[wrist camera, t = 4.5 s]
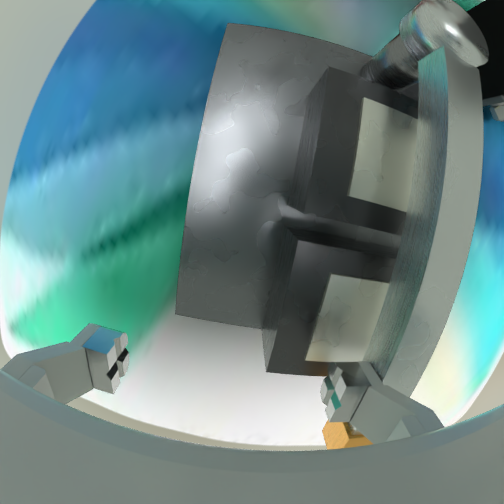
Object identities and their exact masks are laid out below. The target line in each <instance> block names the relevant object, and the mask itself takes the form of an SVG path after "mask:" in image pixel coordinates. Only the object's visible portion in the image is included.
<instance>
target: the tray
mask: <svg viewBox="0 0 504 504" xmlns="http://www.w3.org/2000/svg"><path fill="white" fill-rule="evenodd" d="M418 104H419V75H418V62H417V61H416V60H415V58H414V57H413V56H412V55H411V54H410V52H409V51H408V49H407V48H406V46H405V44H404V42H403V40H402V38H401V35H400V34H398V35H397V36H396V37H395V38H394V39H393V40H392V41H391V42H389V43H388V44H387V45H386V46H385V47H384V48H383V49H382V50H380V51H379V52H378V53H377V54H376V55H375V56H374V57H372V56H369V55H366V54H364V53H361V52H358V51H356V50H353V49H350V48H347V47H344V46H341V45H338V44H334V43H331V42H328V41H324V40H321V39H317V38H313V37H309V36H305V35H301V34H297V33H292V32H287V31H282V30H277V29H271V28H265V27H259V26H251V25H243V24H234V23H228V24H227V27H226V31H225V34H224V38H223V41H222V44H221V48H220V52H219V55H218V59H217V63H216V66H215V70H214V74H213V78H212V82H211V86H210V90H209V94H208V99H207V103H206V107H205V112H204V117H203V121H202V126H201V131H200V136H199V141H198V146H197V151H196V156H195V162H194V167H193V173H192V179H191V185H190V191H189V197H188V204H187V211H186V218H185V225H184V232H183V240H182V249H181V257H180V266H179V276H178V286H177V298H176V310H175V314H177V315H182V316H187V317H192V318H198V319H203V320H209V321H214V322H220V323H226V324H232V325H238V326H245V327H252V328H259V329H262V336H263V346H264V356H265V366H266V372H270V373H281V374H293V375H307V376H328V375H329V374H328V371H327V369H328V367H329V365H330V363H331V362H357V361H362V360H363V357H364V355H365V352H366V350H367V347H368V345H369V342H370V340H371V337H372V334H373V332H374V329H375V326H376V323H377V321H378V318H379V315H380V312H381V309H382V306H383V303H384V300H385V297H386V293H387V290H388V287H389V283H390V280H391V276H392V273H393V269H394V266H395V262H396V258H397V254H398V250H399V246H400V242H401V237H402V233H403V228H404V223H405V218H406V213H407V208H408V202H409V197H410V190H411V184H412V177H413V169H414V161H415V152H416V141H417V127H418Z"/></svg>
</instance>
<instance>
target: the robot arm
mask: <svg viewBox="0 0 504 504" xmlns="http://www.w3.org/2000/svg"><path fill="white" fill-rule="evenodd" d="M127 344H128V338H127V334H126V333H125V332H121V331H117V330H114V329H110V328H107V327H104V326H100V325H97V324H93V323H89V324H88V325H87V326H86V327H85V328H84V329H83V330H82V331H81V332H80V333H79V334H78V335H77V336H76V337H75V338H74V339H73V340H72V341H71V342H70V343H69V342H63V343H59V344H56V345H52V346H48V347H44V348H40V349H37V350H33V351H29V352H25V353H21V354H17V355H16V356H15V357H14V358H12V359H11V360H10V361H9V362H8V363H7V364H6V365H5V366H4V367H3V368H2V369H0V504H504V404H503V405H500V406H498V407H496V408H494V409H492V410H490V411H487V412H485V413H483V414H480V415H478V416H475V417H473V418H470V419H468V420H465V421H462V422H459V423H456V424H454V425H451V426H447V427H444V426H443V424H442V423H441V422H440V420H439V419H438V417H437V416H436V414H435V413H434V412H433V410H431V409H430V408H428V407H426V406H424V405H422V404H420V403H418V402H417V401H415V400H413V399H411V398H409V397H407V396H406V395H404V394H402V393H400V392H398V391H397V390H395V389H393V388H391V387H390V386H388V385H383V383H382V381H381V380H380V378H379V377H378V375H377V374H376V372H375V370H374V369H373V367H372V366H371V364H370V363H369V362H367V361H357V362H331V363H330V365H329V367H328V369H327V371H328V374H329V375H328V376H327V377H326V378H325V379H324V380H323V383H322V386H321V399H322V402H323V403H324V404H326V405H327V407H326V409H325V411H326V414H327V417H328V420H329V422H350V423H351V424H352V425H353V426H354V427H355V428H356V429H357V430H358V431H359V432H361V433H362V434H363V435H364V436H365V437H366V438H367V439H368V440H369V441H371V442H372V443H373V444H372V445H365V446H358V447H350V448H341V449H329V450H313V451H312V450H311V451H266V450H265V451H264V450H247V449H235V448H225V447H217V446H209V445H203V444H197V443H191V442H185V441H180V440H175V439H170V438H166V437H161V436H157V435H153V434H149V433H145V432H141V431H138V430H134V429H131V428H127V427H124V426H121V425H118V424H115V423H111V422H109V421H106V420H103V419H100V418H97V417H95V416H92V415H89V414H87V413H84V412H82V411H79V410H77V409H75V408H72V407H70V406H68V405H65V404H67V403H68V402H70V401H72V400H74V399H76V398H78V397H80V396H81V395H83V394H85V393H87V392H89V391H90V390H92V389H93V388H95V389H98V390H101V391H105V392H108V393H111V394H114V393H115V391H116V389H117V387H118V386H119V384H120V379H119V378H120V377H122V376H124V375H125V373H126V372H127V369H128V365H129V352H128V351H127V349H126V348H125V347H126V345H127Z"/></svg>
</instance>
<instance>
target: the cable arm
mask: <svg viewBox="0 0 504 504" xmlns="http://www.w3.org/2000/svg"><path fill="white" fill-rule="evenodd" d="M399 31H400V35H401V38H402V40H403V42H404V44H405V46H406V48H407V49H408V51H409V52H410V54H411V55H412V56H413V57H414V58H415V60H416V61H417V62H418V75H419V104H418V127H417V141H416V152H415V161H414V169H413V177H412V184H411V190H410V197H409V202H408V208H407V213H406V218H405V223H404V228H403V233H402V237H401V242H400V246H399V250H398V254H397V258H396V262H395V266H394V269H393V273H392V276H391V280H390V283H389V287H388V290H387V293H386V297H385V300H384V303H383V306H382V309H381V312H380V315H379V318H378V321H377V323H376V326H375V329H374V332H373V334H372V337H371V340H370V342H369V345H368V347H367V350H366V352H365V355H364V357H363V360H362V361H367V362H369V363H370V364H371V366H372V367H373V369H374V370H375V372H376V374H377V375H378V377H379V378H380V380H381V381H382V383H383V385H388V386H390V387H391V388H393V389H395V390H397V391H398V392H400V393H402V394H404V395H406V396H407V397H409V398H410V396H411V394H412V392H413V391H414V389H415V387H416V385H417V384H418V382H419V380H420V378H421V376H422V374H423V372H424V370H425V368H426V366H427V364H428V362H429V360H430V358H431V356H432V354H433V352H434V350H435V348H436V345H437V343H438V341H439V339H440V336H441V334H442V332H443V329H444V327H445V324H446V322H447V319H448V317H449V314H450V311H451V309H452V306H453V303H454V300H455V297H456V294H457V291H458V288H459V285H460V282H461V279H462V275H463V272H464V268H465V265H466V261H467V257H468V253H469V249H470V245H471V240H472V236H473V231H474V226H475V220H476V214H477V208H478V202H479V194H480V186H481V176H482V162H483V104H482V91H481V82H480V74H479V69H477V68H476V67H478V66H480V65H483V64H485V63H487V61H488V58H489V51H488V46H487V43H486V40H485V38H484V36H483V34H482V32H481V30H480V29H479V27H478V26H477V24H476V23H475V22H474V20H473V19H472V18H471V17H470V15H469V14H468V13H467V12H466V11H465V10H464V9H463V8H461V7H460V6H459V5H458V4H457V3H455V2H454V1H452V0H422V1H421V2H420V3H419V4H418V5H417V6H415V7H414V8H413V9H412V10H411V11H410V12H409V13H408V14H407V15H406V16H404V17H403V18H402V20H401V21H400V24H399ZM322 432H323V436H324V439H325V443H326V446H327V450H329V449H341V448H350V447H358V446H365V445H372V444H373V443H372V442H371V441H369V440H368V439H367V438H366V437H365V436H364V435H363V434H362V433H361V432H359V431H358V430H357V429H356V428H355V427H354V426H353V425H352V424H351V423H350V422H329V420H328V421H327V422H326V424H325V426H324V428H323V430H322Z"/></svg>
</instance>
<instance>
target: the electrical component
mask: <svg viewBox="0 0 504 504" xmlns="http://www.w3.org/2000/svg"><path fill="white" fill-rule="evenodd" d="M467 13H468V14H469V15H470V17H471V18H472V19H473V20H474V22H475V23H476V24H477V26H478V27H479V29H480V30H481V32H482V34H483V36H484V38H485V40H486V43H487V46H488V51H489V58H488V61H487V63H485V64H483V65H480V66H478V67H476V68H477V69H479V74H480V82H481V91H482V104H483V106H488V105H490V108H489V109H490V111H491V114H492V116H493V119H494V120H496V121H500V122H502V121H504V0H485V1H484V2H482V3H480V4H479V5H477V6H475V7H473V8H472V9H470V10H469V11H467Z"/></svg>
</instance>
